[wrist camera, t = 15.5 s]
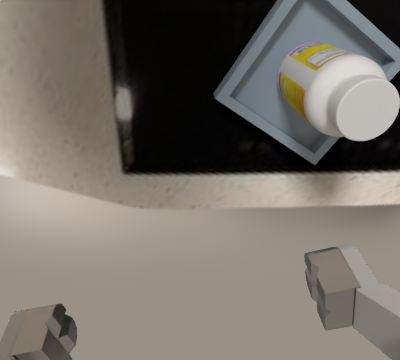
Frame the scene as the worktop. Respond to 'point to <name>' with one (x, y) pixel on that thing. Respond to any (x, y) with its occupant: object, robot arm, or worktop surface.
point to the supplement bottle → (338, 91)
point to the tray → (279, 48)
